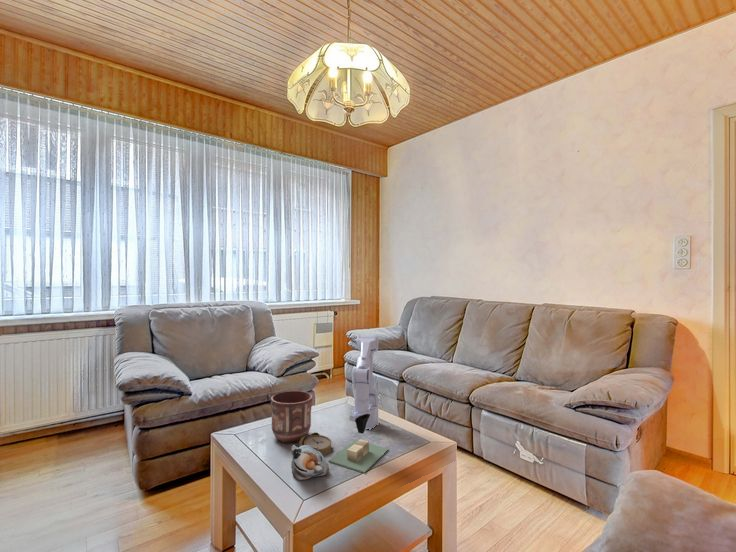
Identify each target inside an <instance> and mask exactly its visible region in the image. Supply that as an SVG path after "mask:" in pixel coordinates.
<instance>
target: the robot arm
mask: <svg viewBox="0 0 736 552" xmlns="http://www.w3.org/2000/svg"><path fill="white" fill-rule="evenodd" d="M356 348H357V350H358V351H360V356H358V357H357V359H356V360H357V361H356V365H355V367H356V368H355V369H353V374H352V375H353V376H352V377H353V378H352V381H353V388H354V397H353V398H354V402H353V403H354V408H353V410H352V412H351V414H350V415H349V421H352V422H355V426H356V429H357V433H358V434H361V435H362V434H364V433H365V431H366V430H367V429H369V430H368V431H372V430H373V429H375V428H376V427H377V426H379V425H380V424H379V422H380V421H379V407H378V405H379V391H378V389H377V388H376V387H374V385H373V378H374V377H373V370H374V369H373V365H374V362H373V361H374V353H376V352H378V351H379V336H378V335H365V334H364V335H361V334H358V335H357V337H356ZM376 425H377V426H376ZM375 426H376V427H375ZM374 427H375V428H374ZM372 428H373V429H372ZM371 429H372V430H371Z"/></svg>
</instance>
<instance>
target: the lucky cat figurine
mask: <svg viewBox="0 0 736 552" xmlns="http://www.w3.org/2000/svg"><path fill="white" fill-rule="evenodd" d="M290 449H291V450H290V451H291V453H292V461H291V464H290V467H291V473H292V477H293V476H294V478H296V479H297V480H298V481H303V480H308V479H311V478H314V477H323V476H327V474H328V473H329V468H330V466H329V462H327V460H326V459H325V457H324V455H322V454H321V453H320V452H319V451H318V447H317V446H315V447H314V448H312V447H311V446H309V445H302V446H299V447H298V446H297V444H293V445H291V448H290Z"/></svg>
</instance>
